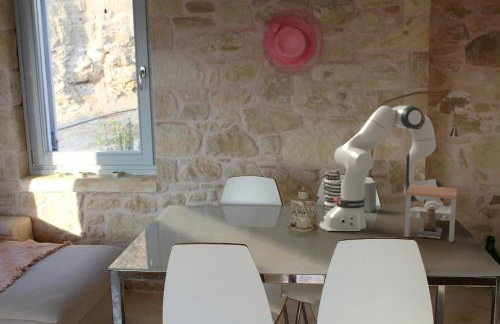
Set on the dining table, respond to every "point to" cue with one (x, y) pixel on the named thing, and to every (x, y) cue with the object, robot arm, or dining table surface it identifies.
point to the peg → (430, 220)
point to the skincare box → (370, 195)
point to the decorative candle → (331, 189)
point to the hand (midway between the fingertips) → (430, 218)
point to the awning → (436, 193)
